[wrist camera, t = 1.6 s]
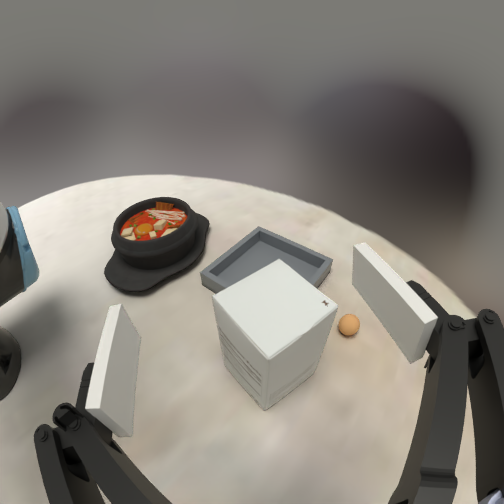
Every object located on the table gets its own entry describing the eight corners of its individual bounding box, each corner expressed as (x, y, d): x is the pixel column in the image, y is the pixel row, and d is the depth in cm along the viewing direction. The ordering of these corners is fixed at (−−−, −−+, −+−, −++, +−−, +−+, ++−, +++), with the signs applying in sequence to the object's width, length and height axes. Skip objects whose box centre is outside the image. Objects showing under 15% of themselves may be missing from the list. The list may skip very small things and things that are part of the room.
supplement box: (273, 331, 41) (280, 255, 31) (315, 372, 35) (342, 304, 26) (222, 364, 37) (208, 293, 27) (263, 413, 31) (269, 360, 21)
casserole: (163, 211, 66) (157, 180, 61) (230, 228, 60) (228, 194, 55) (89, 277, 49) (73, 244, 43) (158, 314, 43) (144, 277, 38)
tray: (202, 284, 48) (200, 272, 46) (258, 238, 58) (258, 226, 56) (281, 333, 41) (283, 321, 39) (329, 271, 50) (333, 259, 48)
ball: (333, 333, 40) (337, 320, 38) (342, 319, 42) (346, 306, 40) (351, 342, 39) (357, 330, 37) (359, 328, 41) (365, 315, 39)
